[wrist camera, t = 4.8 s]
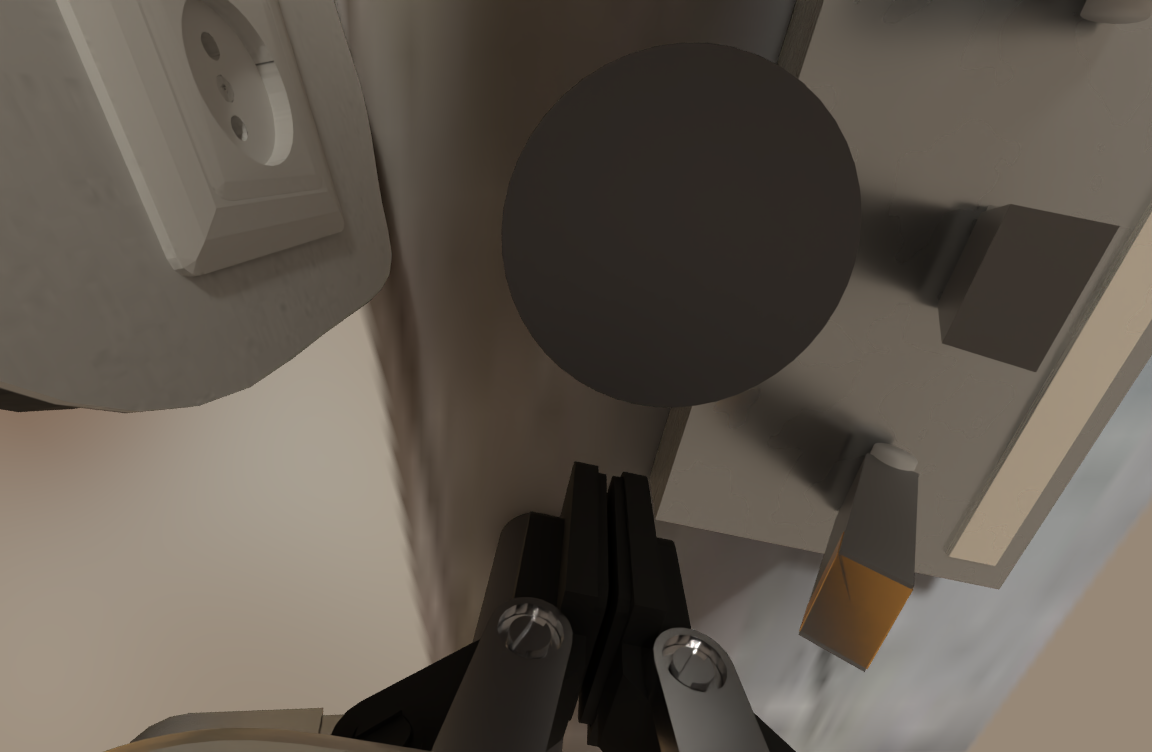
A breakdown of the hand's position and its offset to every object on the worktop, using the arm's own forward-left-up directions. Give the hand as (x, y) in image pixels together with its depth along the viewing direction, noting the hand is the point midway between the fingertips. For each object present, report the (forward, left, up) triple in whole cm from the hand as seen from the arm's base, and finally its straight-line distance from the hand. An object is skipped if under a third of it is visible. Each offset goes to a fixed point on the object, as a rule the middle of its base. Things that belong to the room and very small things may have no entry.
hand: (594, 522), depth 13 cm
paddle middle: (-7, +9, -4) cm, 12 cm away
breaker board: (-7, +9, -7) cm, 13 cm away
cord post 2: (-7, -1, -7) cm, 10 cm away
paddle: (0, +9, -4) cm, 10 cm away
